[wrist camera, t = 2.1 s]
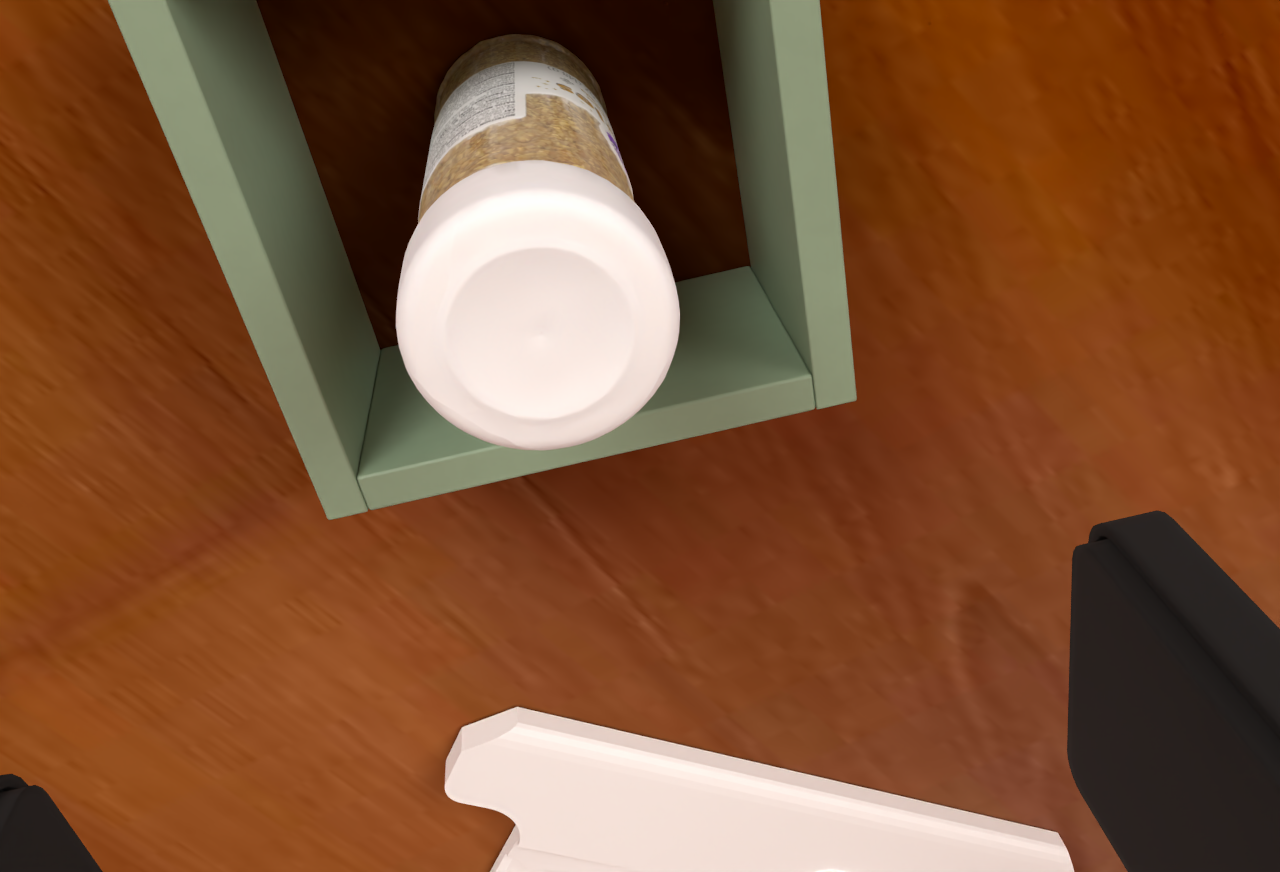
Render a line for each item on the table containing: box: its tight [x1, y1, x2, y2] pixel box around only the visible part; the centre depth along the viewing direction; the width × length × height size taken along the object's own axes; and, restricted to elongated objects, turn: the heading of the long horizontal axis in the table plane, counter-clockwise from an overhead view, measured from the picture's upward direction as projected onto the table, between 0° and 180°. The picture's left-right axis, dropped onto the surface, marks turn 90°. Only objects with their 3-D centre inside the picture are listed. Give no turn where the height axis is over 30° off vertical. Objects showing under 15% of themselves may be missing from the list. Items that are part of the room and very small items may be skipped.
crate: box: [108, 0, 857, 520], centre depth 25 cm, size 13×13×7 cm
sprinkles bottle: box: [396, 34, 680, 450], centre depth 23 cm, size 5×5×13 cm
